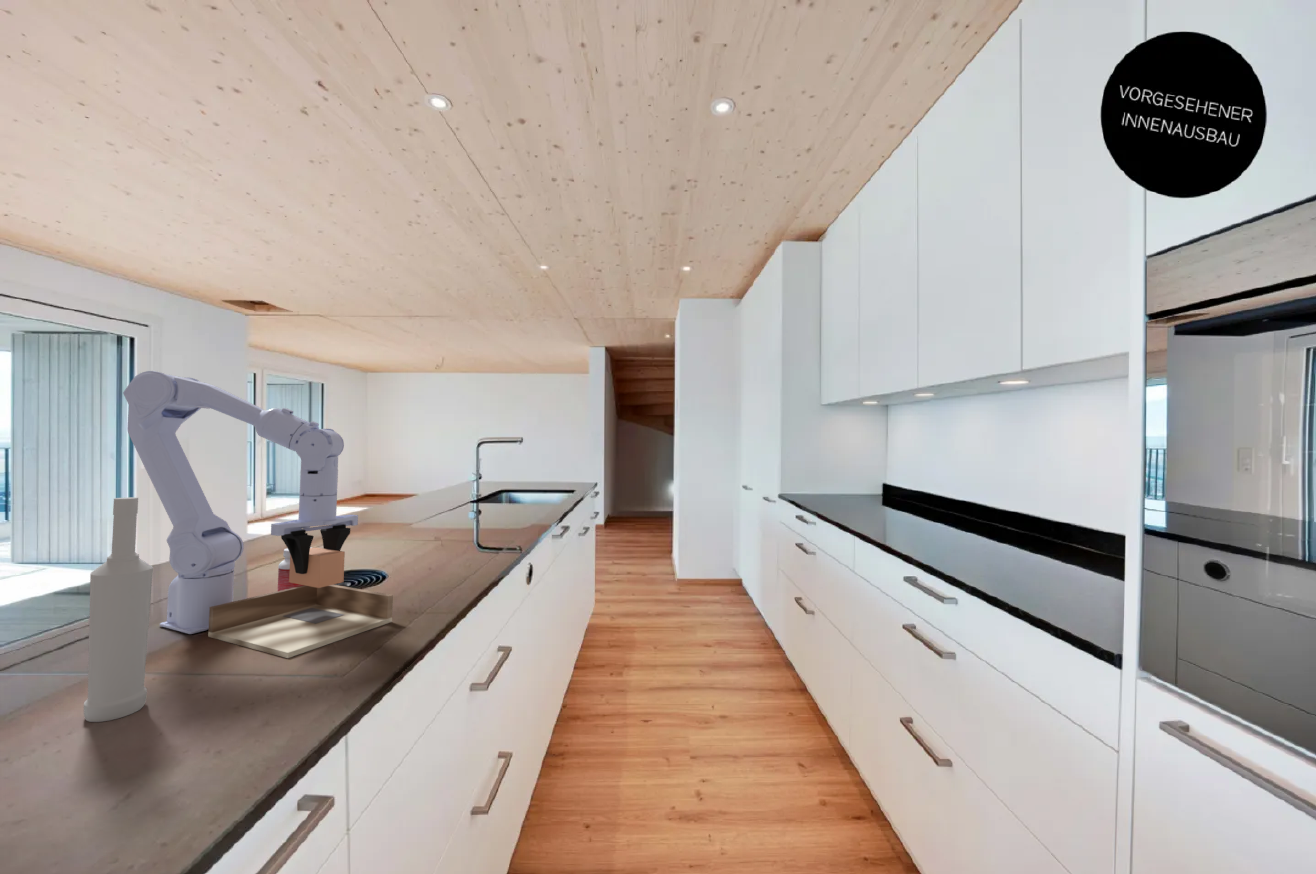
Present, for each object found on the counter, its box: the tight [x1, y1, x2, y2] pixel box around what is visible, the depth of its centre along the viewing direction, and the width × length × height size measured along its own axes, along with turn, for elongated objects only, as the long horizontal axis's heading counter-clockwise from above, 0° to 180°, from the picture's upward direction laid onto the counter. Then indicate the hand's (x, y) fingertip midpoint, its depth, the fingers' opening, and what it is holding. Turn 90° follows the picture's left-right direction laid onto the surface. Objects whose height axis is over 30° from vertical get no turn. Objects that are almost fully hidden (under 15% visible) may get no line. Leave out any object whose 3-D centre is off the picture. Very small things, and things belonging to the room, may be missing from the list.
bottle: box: [83, 496, 154, 723], centre depth 60 cm, size 5×5×25 cm
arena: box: [207, 584, 394, 659], centre depth 88 cm, size 20×18×5 cm
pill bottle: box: [276, 546, 313, 592], centre depth 101 cm, size 6×6×11 cm
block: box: [289, 546, 346, 588], centre depth 93 cm, size 8×4×6 cm, turn 68°
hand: (315, 570), depth 93 cm, fingers closed on block, 4 cm apart
